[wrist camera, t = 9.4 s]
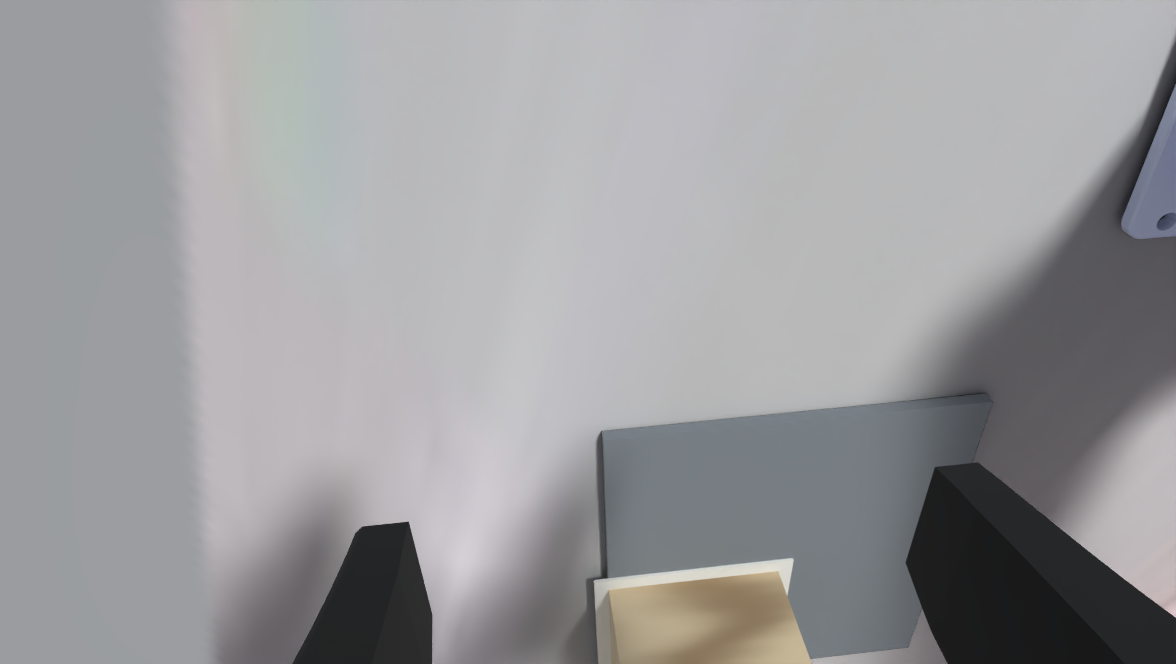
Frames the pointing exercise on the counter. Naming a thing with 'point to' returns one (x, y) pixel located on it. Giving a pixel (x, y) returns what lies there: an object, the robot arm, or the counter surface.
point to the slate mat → (786, 510)
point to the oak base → (706, 623)
